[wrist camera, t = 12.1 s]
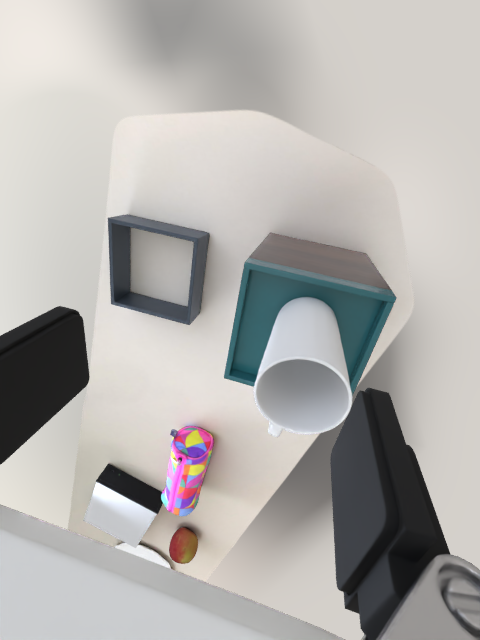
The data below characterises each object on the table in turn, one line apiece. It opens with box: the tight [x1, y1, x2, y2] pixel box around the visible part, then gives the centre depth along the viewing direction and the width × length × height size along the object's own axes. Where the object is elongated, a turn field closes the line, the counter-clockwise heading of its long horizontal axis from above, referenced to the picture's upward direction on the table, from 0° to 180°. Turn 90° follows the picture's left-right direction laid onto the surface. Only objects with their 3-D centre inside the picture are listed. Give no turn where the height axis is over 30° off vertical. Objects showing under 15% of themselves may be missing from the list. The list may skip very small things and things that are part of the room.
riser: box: [249, 233, 391, 290], centre depth 39 cm, size 14×14×16 cm
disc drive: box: [83, 464, 163, 548], centre depth 81 cm, size 18×22×5 cm
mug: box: [254, 297, 352, 437], centre depth 27 cm, size 10×7×12 cm, turn 160°
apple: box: [169, 527, 198, 564], centre depth 80 cm, size 8×8×8 cm
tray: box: [224, 258, 396, 396], centre depth 31 cm, size 14×14×2 cm
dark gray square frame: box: [108, 215, 209, 325], centre depth 48 cm, size 14×14×5 cm
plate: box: [115, 543, 171, 569], centre depth 95 cm, size 21×21×2 cm
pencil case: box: [161, 426, 214, 516], centre depth 65 cm, size 22×9×9 cm, turn 169°
